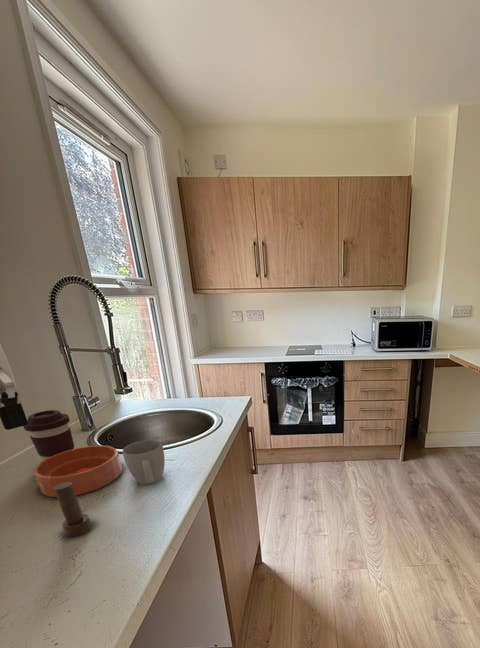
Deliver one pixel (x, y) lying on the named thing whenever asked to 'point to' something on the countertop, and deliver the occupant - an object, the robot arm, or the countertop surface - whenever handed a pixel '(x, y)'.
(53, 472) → the bowl
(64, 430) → the coffee cup
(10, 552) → the countertop surface
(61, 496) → the pestle
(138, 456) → the mug
